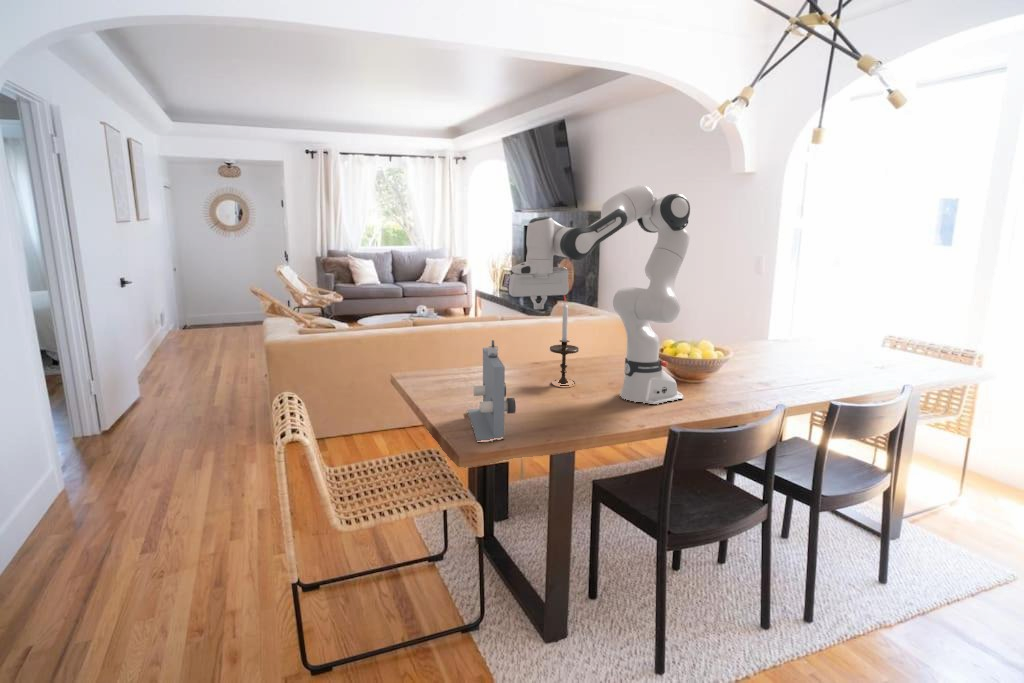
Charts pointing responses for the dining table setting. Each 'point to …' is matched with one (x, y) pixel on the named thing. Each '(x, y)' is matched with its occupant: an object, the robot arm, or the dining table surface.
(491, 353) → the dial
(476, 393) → the knob
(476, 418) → the mount
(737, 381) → the dining table surface
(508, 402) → the knob
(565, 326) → the candlestick
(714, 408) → the dining table surface
